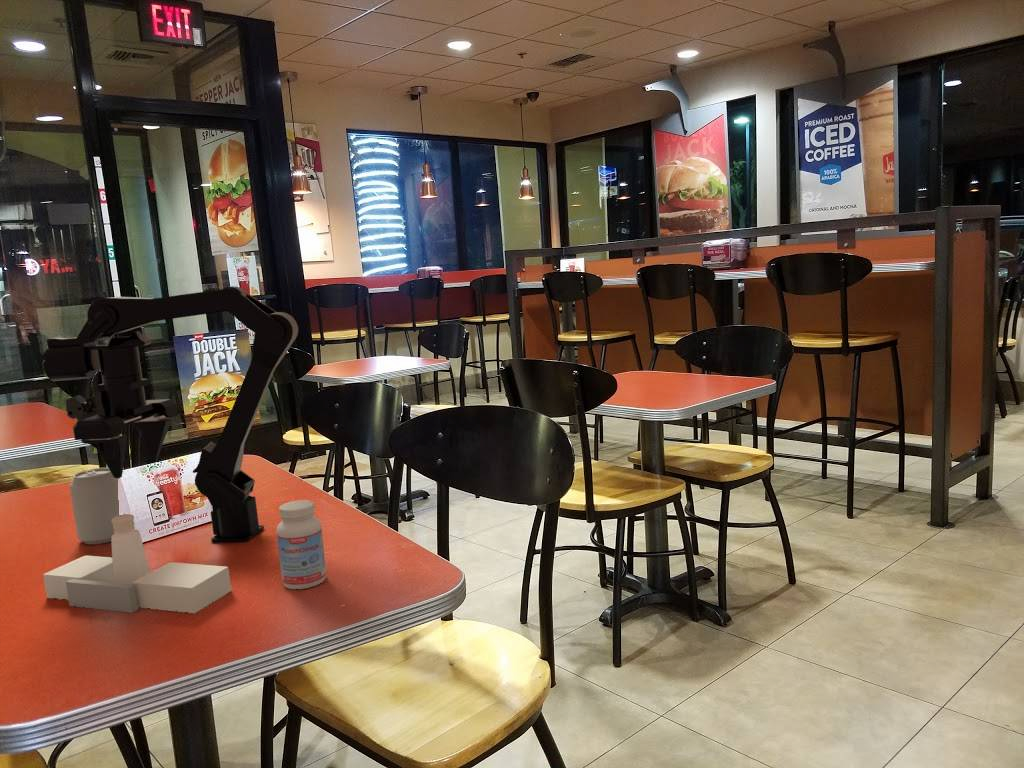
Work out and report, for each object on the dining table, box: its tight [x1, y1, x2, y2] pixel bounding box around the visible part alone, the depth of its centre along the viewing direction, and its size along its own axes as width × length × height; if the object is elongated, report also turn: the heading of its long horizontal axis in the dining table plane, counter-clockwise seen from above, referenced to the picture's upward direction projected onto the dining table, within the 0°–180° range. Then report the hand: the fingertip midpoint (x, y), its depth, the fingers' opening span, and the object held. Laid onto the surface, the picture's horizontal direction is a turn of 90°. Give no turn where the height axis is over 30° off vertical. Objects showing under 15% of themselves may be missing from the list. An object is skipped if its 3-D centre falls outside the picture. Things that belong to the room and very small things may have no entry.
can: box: [69, 467, 120, 545], centre depth 130 cm, size 8×8×12 cm
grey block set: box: [42, 555, 232, 614], centre depth 105 cm, size 26×8×4 cm, turn 71°
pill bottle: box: [276, 499, 327, 590], centre depth 105 cm, size 6×6×11 cm
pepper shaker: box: [110, 513, 151, 584], centre depth 106 cm, size 5×5×11 cm
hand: (136, 469), depth 124 cm, fingers open, 9 cm apart
